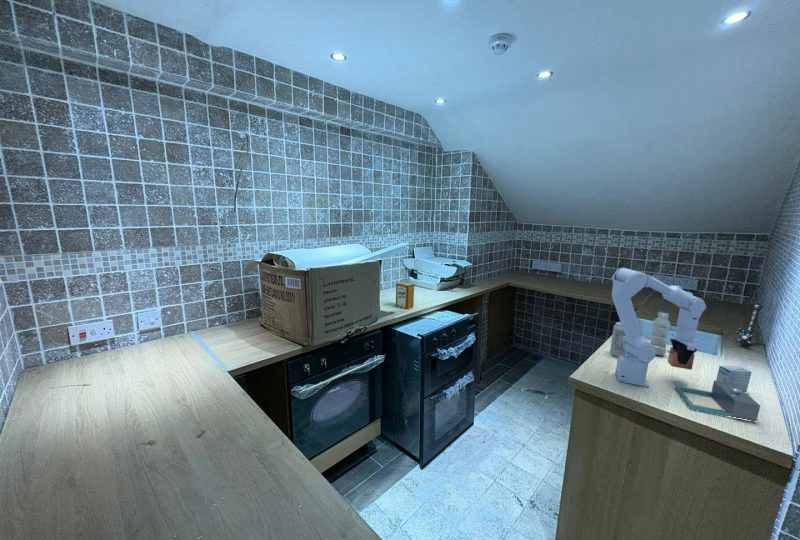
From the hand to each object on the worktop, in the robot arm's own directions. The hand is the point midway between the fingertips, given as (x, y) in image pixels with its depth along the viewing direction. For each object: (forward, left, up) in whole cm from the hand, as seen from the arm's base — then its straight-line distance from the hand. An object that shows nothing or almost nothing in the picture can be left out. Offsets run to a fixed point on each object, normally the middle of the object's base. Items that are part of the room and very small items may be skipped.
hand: (679, 361), depth 126 cm
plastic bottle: (+1, +28, -9) cm, 29 cm away
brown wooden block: (0, 0, -2) cm, 2 cm away
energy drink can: (-16, +18, -9) cm, 26 cm away
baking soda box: (-130, +41, -9) cm, 137 cm away
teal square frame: (+6, -14, -9) cm, 17 cm away
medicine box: (+17, +2, -9) cm, 19 cm away
